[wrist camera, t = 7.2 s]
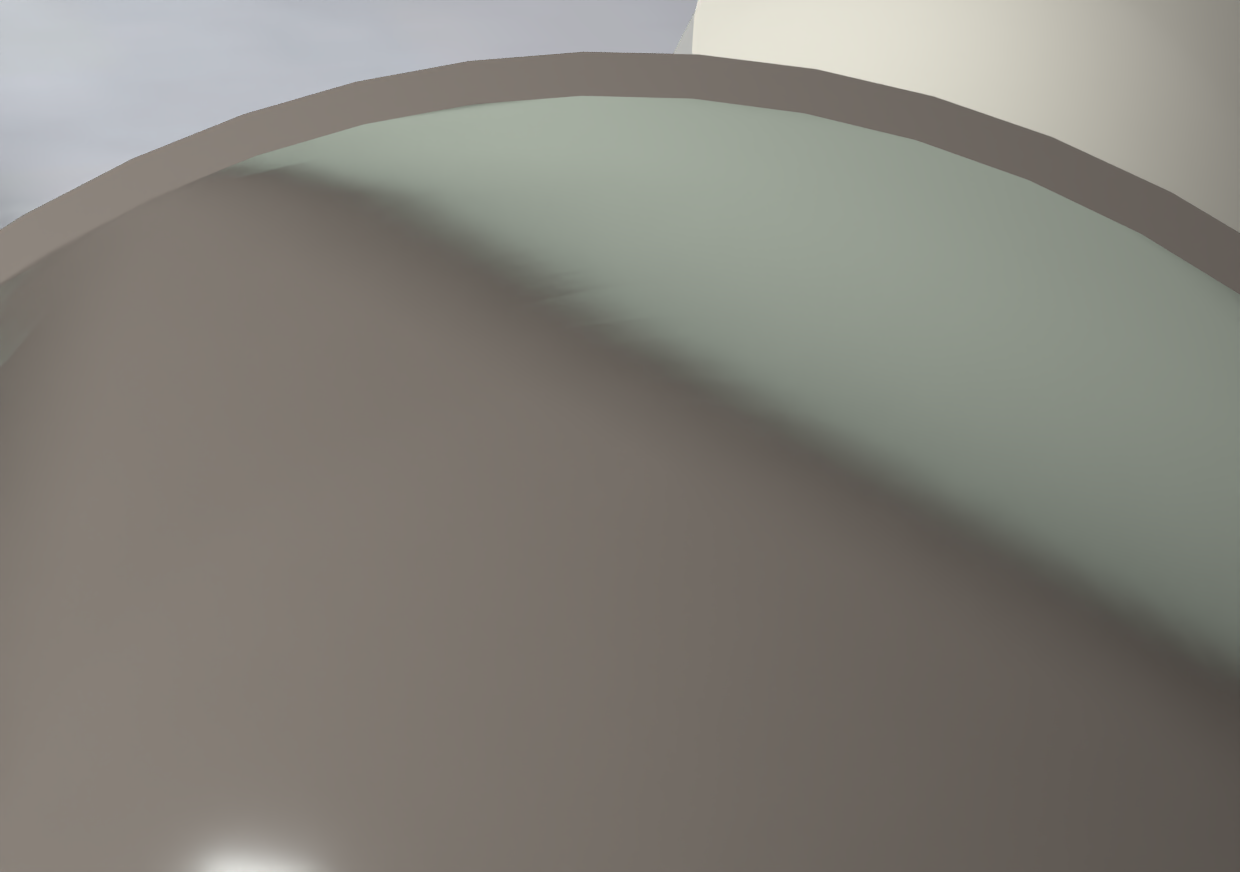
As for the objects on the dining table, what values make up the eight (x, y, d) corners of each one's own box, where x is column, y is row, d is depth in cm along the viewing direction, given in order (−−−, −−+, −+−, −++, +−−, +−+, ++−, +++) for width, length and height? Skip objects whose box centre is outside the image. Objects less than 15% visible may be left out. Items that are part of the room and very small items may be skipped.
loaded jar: (934, 679, 21) (1249, 390, 9) (648, 566, 22) (598, 182, 10) (1018, 416, 23) (1363, -100, 11) (751, 326, 24) (807, -225, 12)
